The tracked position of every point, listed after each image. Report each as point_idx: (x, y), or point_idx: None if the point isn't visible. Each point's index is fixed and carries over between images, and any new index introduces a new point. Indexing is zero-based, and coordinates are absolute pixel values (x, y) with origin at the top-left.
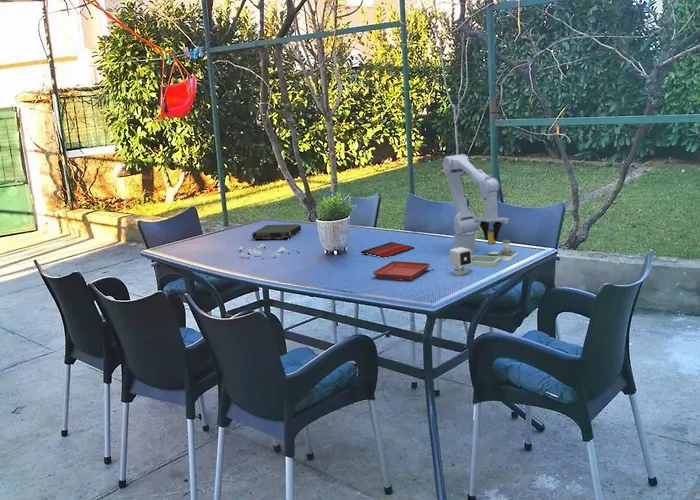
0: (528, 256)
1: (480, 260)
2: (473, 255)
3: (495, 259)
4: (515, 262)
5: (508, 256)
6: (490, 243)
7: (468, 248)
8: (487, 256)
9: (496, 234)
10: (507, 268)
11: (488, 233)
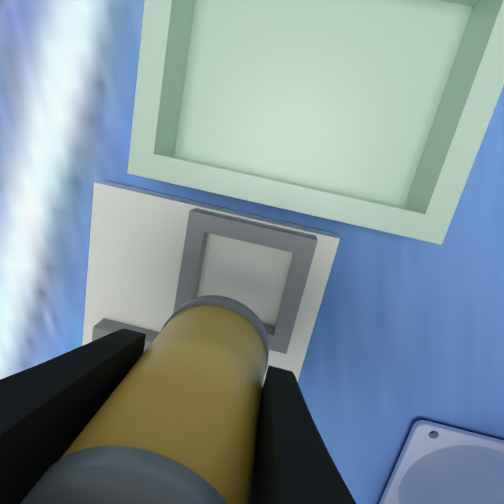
0: (22, 364)
1: (341, 193)
2: (425, 237)
3: (195, 161)
4: (66, 211)
5: (123, 311)
6: (221, 303)
7: (478, 489)
8: (271, 187)
9: (20, 373)
10: (84, 9)
11: (212, 443)
